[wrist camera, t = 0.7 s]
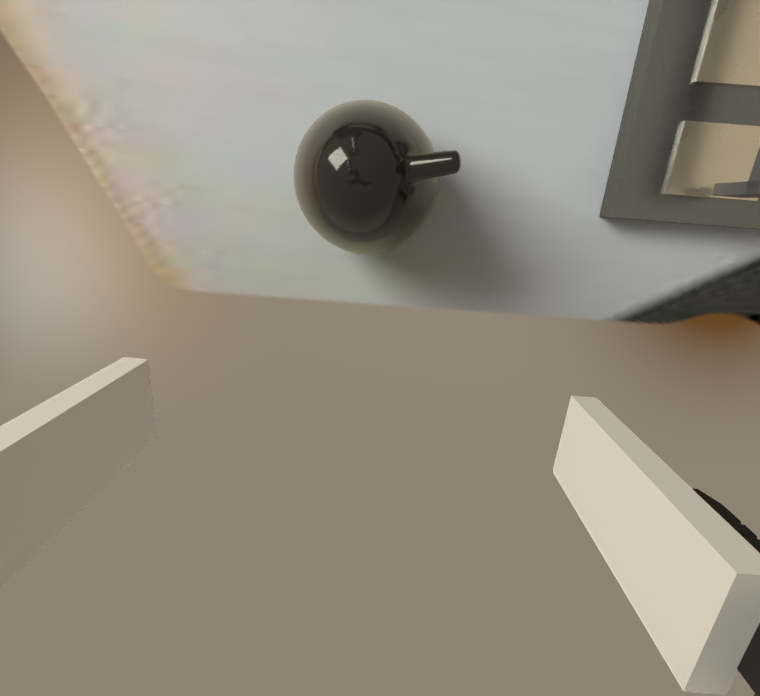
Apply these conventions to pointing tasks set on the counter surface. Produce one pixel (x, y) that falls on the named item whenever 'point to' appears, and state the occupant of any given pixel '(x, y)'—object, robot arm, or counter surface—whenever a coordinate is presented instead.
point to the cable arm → (742, 185)
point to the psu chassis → (690, 116)
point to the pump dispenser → (368, 176)
